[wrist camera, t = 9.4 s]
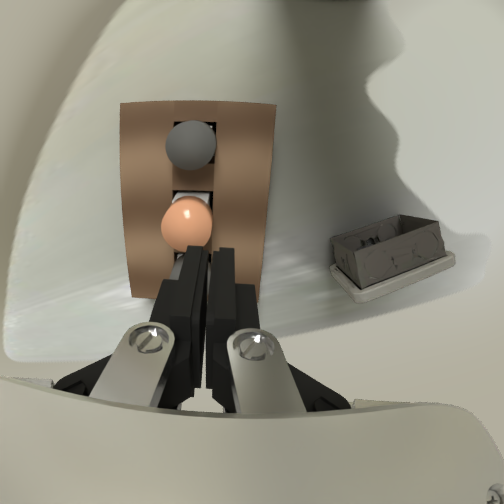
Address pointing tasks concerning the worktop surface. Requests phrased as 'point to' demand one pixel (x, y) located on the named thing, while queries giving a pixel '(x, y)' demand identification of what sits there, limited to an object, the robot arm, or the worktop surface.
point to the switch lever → (191, 144)
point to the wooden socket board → (195, 185)
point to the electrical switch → (388, 256)
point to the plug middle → (188, 220)
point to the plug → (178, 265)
